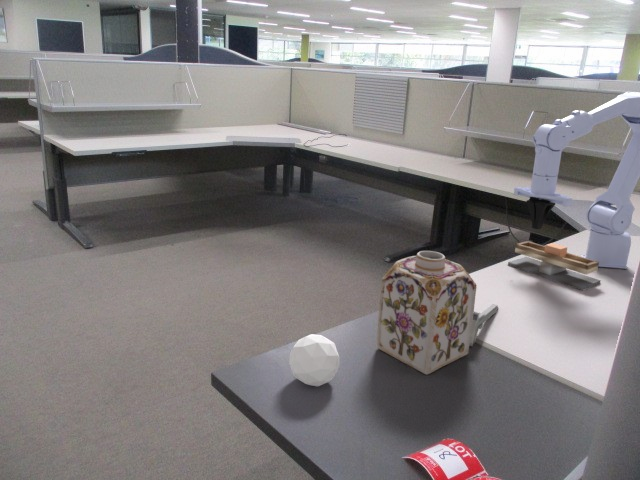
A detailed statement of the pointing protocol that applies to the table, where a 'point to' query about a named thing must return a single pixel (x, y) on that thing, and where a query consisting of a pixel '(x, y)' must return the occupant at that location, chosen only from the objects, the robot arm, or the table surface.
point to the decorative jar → (426, 311)
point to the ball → (314, 360)
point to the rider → (556, 249)
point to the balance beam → (556, 266)
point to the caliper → (480, 321)
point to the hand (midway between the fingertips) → (536, 228)
